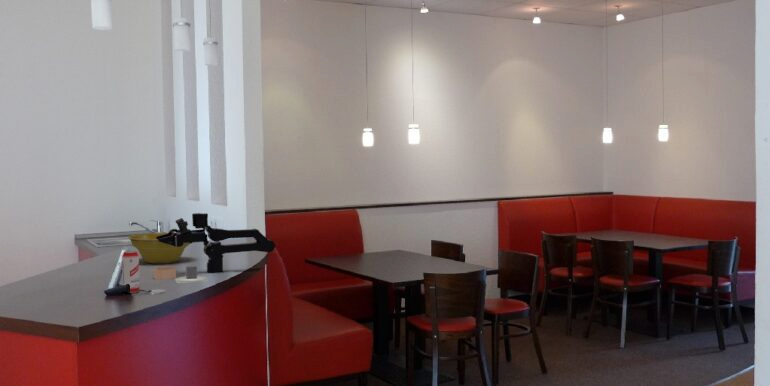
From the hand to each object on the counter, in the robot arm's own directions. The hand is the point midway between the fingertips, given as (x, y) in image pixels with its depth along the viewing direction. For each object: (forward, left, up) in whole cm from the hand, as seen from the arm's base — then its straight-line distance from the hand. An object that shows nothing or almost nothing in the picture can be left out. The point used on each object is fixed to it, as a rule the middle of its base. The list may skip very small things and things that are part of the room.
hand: (157, 239), depth 322 cm
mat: (-12, +19, -17) cm, 28 cm away
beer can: (+13, +37, -17) cm, 43 cm away
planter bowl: (-5, -48, -17) cm, 51 cm away
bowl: (-2, +8, -17) cm, 19 cm away
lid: (-12, +19, -16) cm, 28 cm away
